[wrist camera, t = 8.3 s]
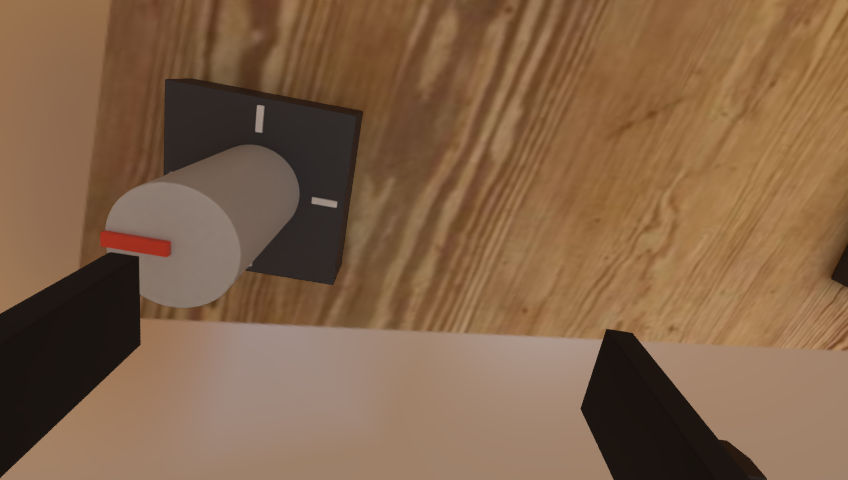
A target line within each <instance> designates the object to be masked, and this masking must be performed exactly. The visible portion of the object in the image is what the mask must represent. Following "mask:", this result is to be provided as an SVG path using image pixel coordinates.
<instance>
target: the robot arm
mask: <svg viewBox="0 0 848 480" xmlns="http://www.w3.org/2000/svg"><path fill="white" fill-rule="evenodd" d="M139 345H140V280H139V256H133V255H127V254H121V253H114V252H109V253H108V254H106V255H104V256H102V257H100V258H99V259H97V260H95V261H93V262H92V263H90V264H88V265H86V266H84V267H83V268H81V269H79V270H77V271H76V272H74V273H72V274H70V275H69V276H67V277H65V278H63V279H61V280H60V281H58V282H56V283H54V284H53V285H51V286H49V287H47V288H45V289H44V290H42V291H40V292H38V293H37V294H35V295H33V296H31V297H29V298H28V299H26V300H24V301H22V302H21V303H19V304H17V305H15V306H13V307H12V308H10V309H8V310H6V311H5V312H3V313H1V314H0V478H1V477H2V476H3V475H4V474H5V472H7V471H8V470H9V469H10V468H11V467H12V466H13V465H14V464H15V463H16V462H17V461H18V460H19V459H20V458H22V457H23V456H24V455H25V453H27V452H28V451H29V450H30V449H31V448H32V447H33V446H34V445H35V444H36V443H37V442H38V441H39V440H40V439H41V438H42V437H44V436H45V435H46V434H47V433H48V432H49V431H50V430H51V429H52V428H53V427H54V426H55V425H56V424H57V423H58V422H59V421H61V419H63V418H64V417H65V416H66V415H67V414H68V413H69V412H70V411H71V410H72V409H73V408H74V407H75V406H76V405H77V404H78V403H79V402H81V401H82V399H84V398H85V397H86V396H87V395H88V394H89V393H90V392H91V391H92V390H93V389H94V388H95V387H96V386H97V385H98V384H99V383H100V382H102V381H103V380H104V379H105V378H106V377H107V376H108V375H109V374H110V373H111V372H112V371H113V370H114V369H115V368H116V367H117V366H118V365H119V364H121V363H122V362H123V361H124V359H126V358H127V357H128V356H129V355H130V354H131V353H132V352H133V351H134V350H135V349H136V348H137V347H138V346H139ZM581 411H582V413H583V415H584V417H585V419H586V421H587V424H588V426H589V428H590V430H591V432H592V434H593V436H594V438H595V440H596V443H597V445H598V447H599V449H600V451H601V453H602V456H603V457H604V460H605V462H606V464H607V466H608V468H609V470H610V473H611V475H612V477H613V479H614V480H767V478H766V477H765V476H764V475H763V473H762V472H761V471H760V470H759V469H758V468H757V466H756V465H755V464H754V463H753V462H752V461H751V459H750V458H748V457H747V456H746V455H744V454H743V453H742V452H741V451H739V450H738V449H737V448H736V447H734V446H733V445H732V444H731V443H729V442H728V441H724V440H718V438H717V437H716V436H715V435H714V433H713V432H712V431H711V430H710V429H709V427H708V426H707V425H706V424H705V422H704V421H703V420H702V419H701V418H700V416H699V415H698V414H697V412H696V411H695V410H694V409H693V407H692V406H691V405H690V404H689V403H688V401H687V400H686V399H685V398H684V396H683V395H682V394H681V393H680V391H679V390H678V389H677V388H676V387H675V385H674V384H673V383H672V381H671V380H670V379H669V378H668V377H667V375H666V374H665V373H664V372H663V370H662V369H661V368H660V367H659V366H658V364H657V363H656V362H655V360H654V359H653V358H652V357H651V355H650V354H649V353H648V352H647V351H646V349H645V348H644V347H643V346H642V344H641V343H640V342H639V341H638V339H637V338H636V337H635V336H634V334H633V333H629V332H623V331H616V330H610V329H606V332H605V335H604V338H603V341H602V344H601V348H600V351H599V354H598V357H597V360H596V363H595V366H594V369H593V372H592V375H591V378H590V381H589V385H588V387H587V390H586V394H585V397H584V400H583V403H582V406H581Z"/></svg>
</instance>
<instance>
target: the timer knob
mask: <svg viewBox="0 0 848 480" xmlns="http://www.w3.org/2000/svg"><path fill="white" fill-rule="evenodd" d="M299 193H300V192H299V185H298V180H297V178H296V175H295V173H294V171H293V169H292V168H291V167H290V165H289V164H288V163H287V162H286V160H285V159H283V158H282V157H281V156H280V155H279V154H277V153H276V152H274V151H272V150H270V149H268V148H265V147H262V146H258V145H239V146H236V147H233V148H230V149H228V150H226V151H223V152H221V153H218V154H216V155H213V156H211V157H208V158H206V159H203V160H201V161H198V162H196V163H194V164H191V165H189V166H186V167H184V168H181V169H179V170H176V171H174V172H171V173H169V174H167V175H164V176H162V177H159V178H157V179H154V180H152V181H149V182H147V183H144V184H142V185H139V186H137V187H135V188H133V189H131V190H129V191H128V192H126V193H125V194H124V195H123V196H121V197H120V198H119V199H118V200H117V202H116V203H115V204H114V206H113V207H112V209H111V211H110V213H109V215H108V218H107V221H106V226H105V230H104V231H103V232H101V233H100V239H101V247H106V249H107V253H109V252H114V253H121V254H127V255H133V256H139V280H140V295H141V296H143V297H145V298H146V299H149V300H151V301H153V302H155V303H158V304H161V305H165V306H169V307H176V308H191V307H198V306H201V305H205V304H208V303H210V302H212V301H214V300H216V299H217V298H219V297H220V296H222V295H223V294H224V293H225V292H226V291H227V290H228V289H229V288H230V287H231V286H232V285H233V283H234V282H235V281H236V280H237V279H238V278H239V277H240V276H241V274H242V273H243V272H244V271H245V270H246V269H247V268H248V266H249V265H250V264H251V263H252V262H253V261H254V260H255V259H256V257H257V256H258V255H259V254H260V253H261V252H262V251H263V249H264V248H265V247H266V246H267V245H268V244H269V243H270V242H271V240H272V239H273V238H274V237H275V236H276V235H277V234H278V232H279V231H280V230H281V229H282V228H283V227H284V226H285V225H286V223H287V222H288V221H289V220H290V219H291V218H292V216H293V215H294V213H295V211H296V209H297V206H298V203H299Z"/></svg>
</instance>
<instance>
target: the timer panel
mask: <svg viewBox="0 0 848 480" xmlns="http://www.w3.org/2000/svg"><path fill="white" fill-rule="evenodd" d="M362 114H363V112H362V111H359V110H353V109H348V108H343V107H338V106H333V105H327V104H322V103H317V102H312V101H306V100H301V99H296V98H291V97H285V96H280V95H275V94H270V93H264V92H259V91H254V90H249V89H244V88H238V87H233V86H228V85H223V84H217V83H212V82H207V81H202V80H196V79H166V80H165V128H164V175H167V174H169V173H171V172H174V171H176V170H179V169H181V168H184V167H186V166H189V165H191V164H194V163H196V162H198V161H201V160H203V159H206V158H208V157H211V156H213V155H216V154H218V153H221V152H223V151H226V150H228V149H230V148H233V147H236V146H239V145H258V146H262V147H265V148H268V149H270V150H272V151H274V152H276V153H277V154H279V155H280V156H281V157H282V158H283V159H285V160H286V162H287V163H288V164H289V165H290V167H291V168H292V169H293V171H294V173H295V175H296V178H297V180H298V185H299V192H300V193H299V203H298V206H297V209H296V211H295V213H294V215H293V216H292V218H291V219H290V220H289V221H288V222H287V223H286V225H285V226H284V227H283V228H282V229H281V230H280V231H279V232H278V234H277V235H276V236H275V237H274V238H273V239H272V240H271V242H270V243H269V244H268V245H267V246H266V247H265V248H264V249H263V251H262V252H261V253H260V254H259V255H258V256H257V257H256V259H255V260H254V261H253V262H252V263H251V264H250V265H249V266H248V268H247V269H246V271H252V272H258V273H264V274H270V275H276V276H282V277H288V278H294V279H300V280H306V281H312V282H318V283H324V284H330V285H333V284H334V282H335V279H336V277H337V274H338V272H339V269H340V267H341V262H342V255H343V248H344V241H345V234H346V227H347V220H348V212H349V205H350V198H351V191H352V184H353V177H354V170H355V163H356V156H357V149H358V142H359V135H360V128H361V121H362Z"/></svg>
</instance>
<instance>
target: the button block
mask: <svg viewBox="0 0 848 480" xmlns="http://www.w3.org/2000/svg"><path fill="white" fill-rule="evenodd" d="M832 280H834V281H836V282H838V283H840V284H842V285H844V286H846V287H848V246H847V248H846V250H845V252H844V254H843V256H842V258H841V260H840V262H839V264H838V266H837V268H836V270H835V272H834V274H833V276H832Z"/></svg>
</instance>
